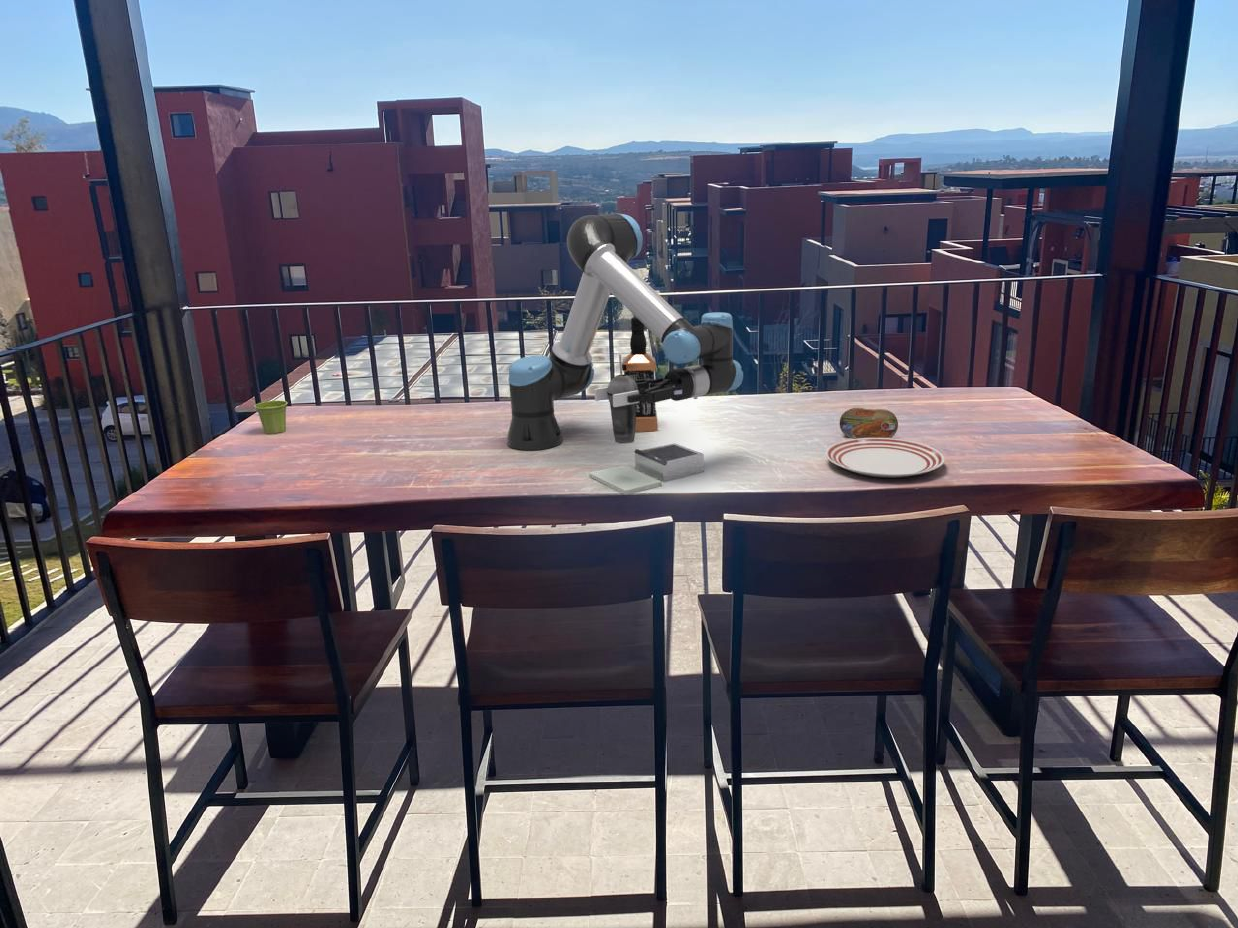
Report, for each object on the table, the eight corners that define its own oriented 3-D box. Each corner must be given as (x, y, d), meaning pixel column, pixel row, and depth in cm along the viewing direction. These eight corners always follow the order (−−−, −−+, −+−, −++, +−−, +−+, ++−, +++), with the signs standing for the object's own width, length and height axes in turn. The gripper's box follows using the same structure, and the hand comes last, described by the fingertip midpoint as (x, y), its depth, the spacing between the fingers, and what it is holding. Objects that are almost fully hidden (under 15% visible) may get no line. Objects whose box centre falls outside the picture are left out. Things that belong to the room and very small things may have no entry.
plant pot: (297, 427, 254) (293, 400, 251) (282, 435, 245) (278, 407, 242) (268, 427, 255) (264, 400, 252) (253, 436, 246) (248, 408, 243)
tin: (838, 437, 223) (839, 407, 220) (841, 434, 226) (842, 404, 223) (895, 443, 216) (898, 412, 214) (898, 440, 219) (900, 409, 216)
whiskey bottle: (657, 431, 235) (655, 319, 225) (623, 432, 235) (619, 320, 225) (657, 422, 245) (654, 314, 235) (624, 423, 245) (620, 315, 235)
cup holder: (635, 469, 202) (634, 449, 201) (674, 460, 209) (674, 440, 207) (663, 481, 193) (662, 461, 191) (703, 471, 199) (703, 451, 197)
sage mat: (589, 476, 198) (589, 472, 198) (624, 468, 203) (624, 465, 203) (625, 494, 185) (625, 490, 185) (661, 485, 190) (661, 481, 190)
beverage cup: (613, 446, 187) (609, 359, 181) (605, 438, 193) (601, 354, 187) (644, 443, 188) (641, 356, 182) (635, 435, 195) (632, 351, 189)
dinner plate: (953, 487, 183) (954, 473, 182) (827, 483, 189) (827, 469, 188) (933, 451, 209) (934, 438, 208) (823, 448, 214) (823, 436, 213)
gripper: (712, 406, 189) (629, 422, 178) (661, 391, 206) (583, 406, 194) (712, 374, 187) (628, 388, 176) (661, 362, 204) (581, 375, 192)
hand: (604, 397), depth 185 cm, fingers closed on beverage cup, 7 cm apart
